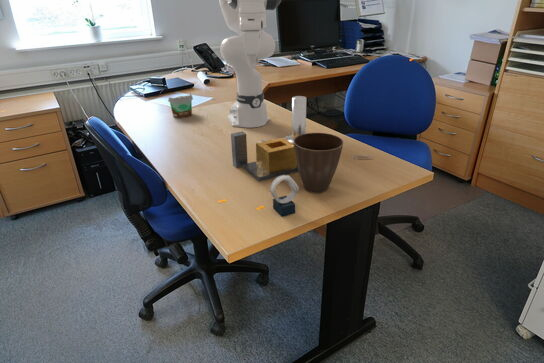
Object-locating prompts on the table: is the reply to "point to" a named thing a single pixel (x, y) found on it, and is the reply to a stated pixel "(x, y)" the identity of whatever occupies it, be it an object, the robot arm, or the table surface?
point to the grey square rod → (239, 149)
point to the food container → (181, 106)
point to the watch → (284, 203)
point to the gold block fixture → (280, 148)
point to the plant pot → (317, 159)
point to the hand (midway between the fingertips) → (254, 66)
